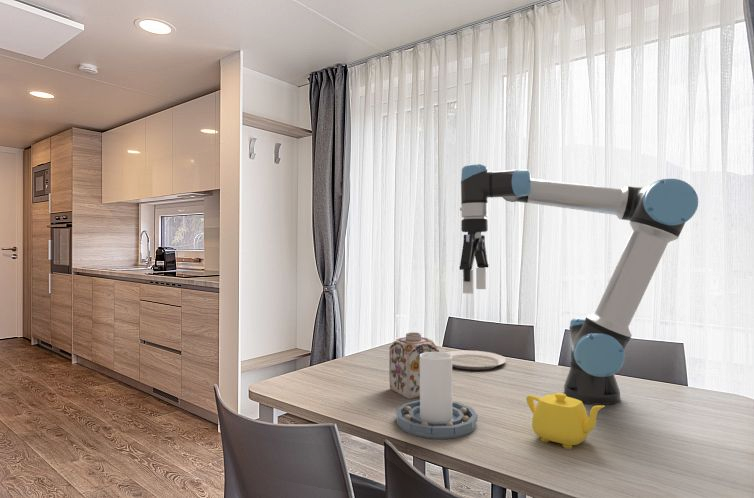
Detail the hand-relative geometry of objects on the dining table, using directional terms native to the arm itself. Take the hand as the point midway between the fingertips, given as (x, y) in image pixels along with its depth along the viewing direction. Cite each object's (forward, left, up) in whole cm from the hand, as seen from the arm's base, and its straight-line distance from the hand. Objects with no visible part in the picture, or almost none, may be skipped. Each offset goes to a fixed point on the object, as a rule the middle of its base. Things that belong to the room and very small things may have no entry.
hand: (474, 291), depth 135 cm
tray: (+4, +22, -32) cm, 39 cm away
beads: (+4, +22, -30) cm, 38 cm away
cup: (+4, +22, -31) cm, 38 cm away
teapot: (-26, +19, -32) cm, 45 cm away
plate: (+13, -41, -32) cm, 54 cm away
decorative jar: (+19, +1, -32) cm, 37 cm away
